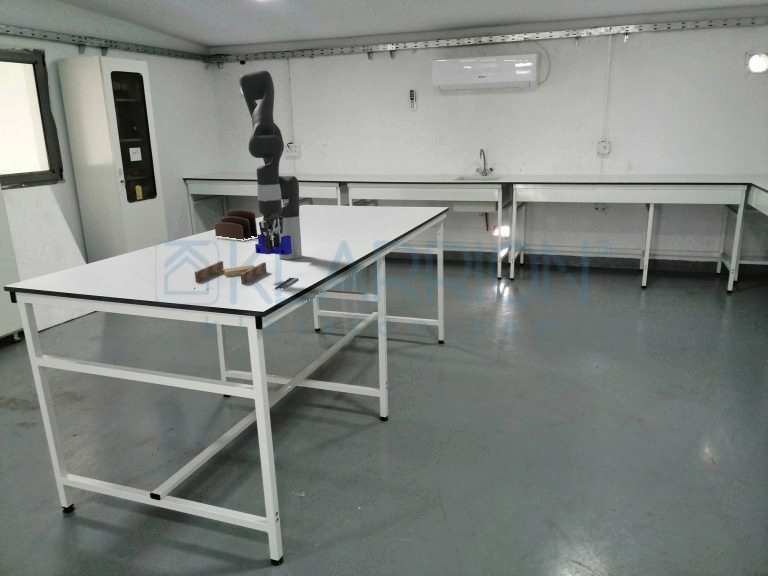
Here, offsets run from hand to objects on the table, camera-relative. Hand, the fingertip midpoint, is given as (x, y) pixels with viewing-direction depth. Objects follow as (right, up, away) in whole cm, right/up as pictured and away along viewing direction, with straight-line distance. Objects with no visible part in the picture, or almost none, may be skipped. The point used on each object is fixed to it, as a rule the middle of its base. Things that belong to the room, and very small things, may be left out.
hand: (273, 249), depth 186 cm
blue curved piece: (0, -2, 0) cm, 2 cm away
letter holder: (-37, +12, +94) cm, 101 cm away
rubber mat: (0, -11, +3) cm, 12 cm away
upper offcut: (-15, -8, +13) cm, 21 cm away
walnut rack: (-16, -11, +8) cm, 21 cm away
